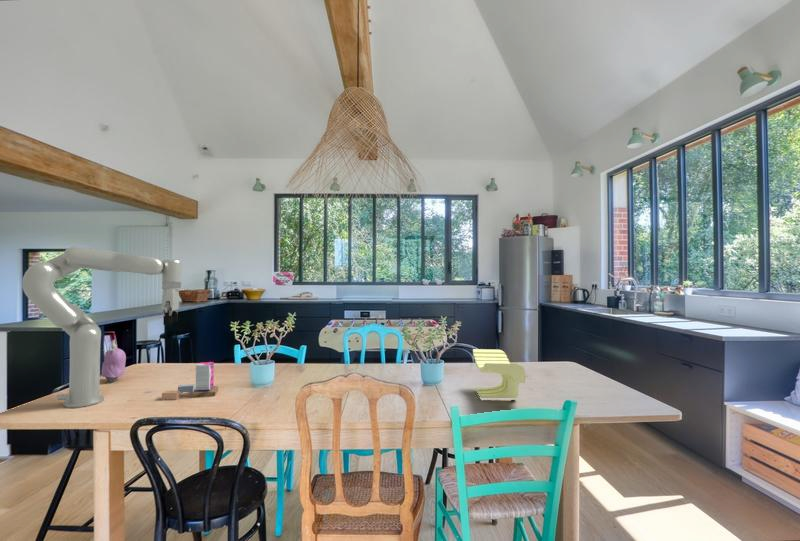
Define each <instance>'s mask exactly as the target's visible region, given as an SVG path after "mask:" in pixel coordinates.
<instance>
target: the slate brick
mask: <svg viewBox="0 0 800 541" xmlns="http://www.w3.org/2000/svg"><path fill="white" fill-rule="evenodd" d="M194 390H195V383H191V384H190V383H189V384H187V383H186V384H179V385H178V386H177V391H180V394H184V393H183V392H188V393H192V392H193V391H194Z"/></svg>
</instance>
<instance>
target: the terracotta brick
mask: <svg viewBox="0 0 800 541" xmlns="http://www.w3.org/2000/svg"><path fill="white" fill-rule="evenodd" d="M179 397H180V398H181V393H180V391H178V390H165V391H164V392H162V393H161V400H162V401H165V399H177V400H178V399H180V398H179Z"/></svg>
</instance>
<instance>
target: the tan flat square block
mask: <svg viewBox="0 0 800 541" xmlns="http://www.w3.org/2000/svg"><path fill="white" fill-rule="evenodd" d="M218 391H219V386H218V385H216V386H214V385H213V388H211V389H210V390H209V391H198V392H196V388H194V391H193V392H191V398H192V399H194V398H195V399H196V398H207V397H215V396H216V395H217V393H218Z"/></svg>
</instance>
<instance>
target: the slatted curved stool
mask: <svg viewBox="0 0 800 541" xmlns="http://www.w3.org/2000/svg"><path fill="white" fill-rule="evenodd" d="M472 356H473V359H474V362H475V366H476V367H477V369H479V372H480V373H491V374H498V375H501V383H500V384H499V385H497V386H493V387H479V388H478V387H476V388H475V391H476V390H477V392H478V394H479V395H480V397H481V398H516V399H517V398H518V396H519V385H520V383H526V370H525V368H524V366H522V365H521V364H519V363H511V362H510V360H509V358H508V357H509V356H508V355H507V353H506V352H505V351H503V350H502V349H490V348H489V349H484V348H480V349H479V348H475V349H474V348H473V349H472ZM478 394H477V395H478ZM480 397H479V398H480Z"/></svg>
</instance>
